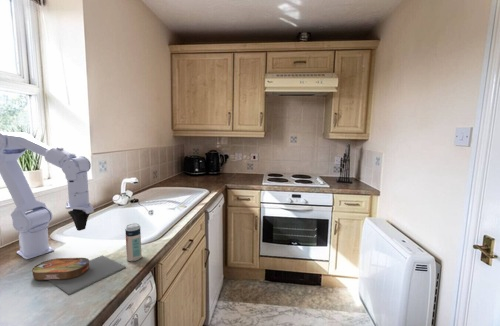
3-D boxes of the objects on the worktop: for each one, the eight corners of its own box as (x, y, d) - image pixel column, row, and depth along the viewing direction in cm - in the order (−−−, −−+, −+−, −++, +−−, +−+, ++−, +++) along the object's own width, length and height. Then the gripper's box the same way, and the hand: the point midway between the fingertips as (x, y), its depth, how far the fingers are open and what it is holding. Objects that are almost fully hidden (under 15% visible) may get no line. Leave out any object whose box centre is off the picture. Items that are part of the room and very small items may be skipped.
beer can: (132, 254, 87) (131, 222, 86) (144, 256, 86) (143, 223, 85) (123, 261, 82) (121, 227, 81) (135, 263, 81) (134, 228, 80)
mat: (46, 278, 72) (46, 277, 72) (102, 256, 86) (102, 255, 86) (69, 295, 65) (68, 293, 65) (125, 267, 78) (125, 266, 78)
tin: (94, 257, 79) (77, 269, 70) (95, 266, 79) (77, 280, 71) (47, 258, 78) (24, 270, 70) (47, 267, 78) (24, 281, 70)
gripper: (55, 191, 84) (58, 229, 86) (75, 197, 77) (78, 238, 78) (78, 187, 90) (80, 223, 92) (98, 192, 83) (101, 230, 84)
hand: (81, 229), depth 86 cm, fingers closed
